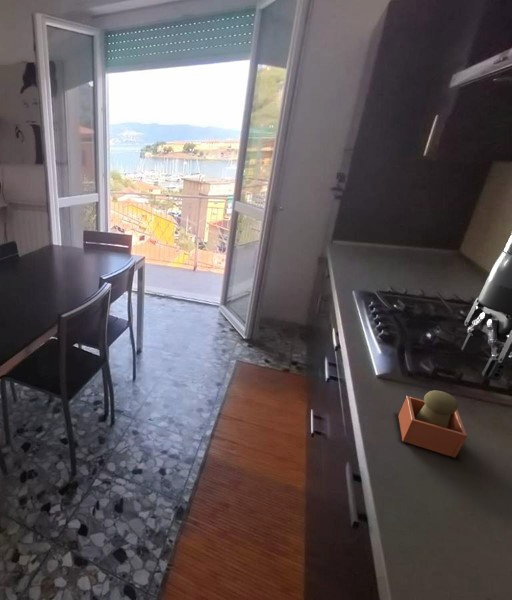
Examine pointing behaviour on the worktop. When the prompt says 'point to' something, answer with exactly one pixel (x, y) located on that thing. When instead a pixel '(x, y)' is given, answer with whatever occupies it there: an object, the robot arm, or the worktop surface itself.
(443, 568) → the worktop surface
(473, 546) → the worktop surface
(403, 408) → the box
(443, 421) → the cork
